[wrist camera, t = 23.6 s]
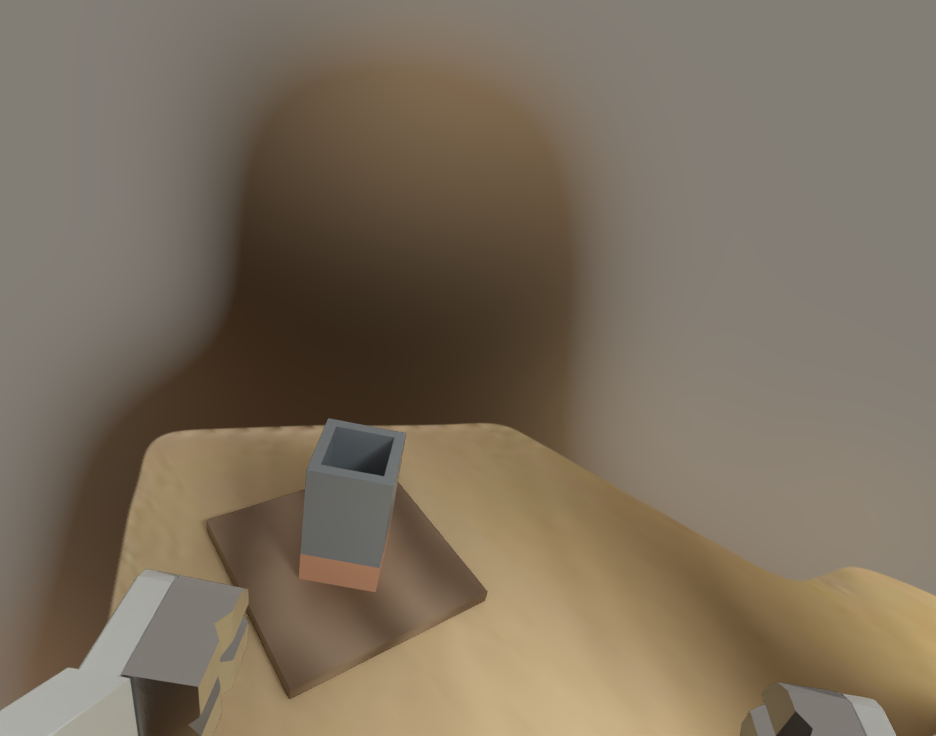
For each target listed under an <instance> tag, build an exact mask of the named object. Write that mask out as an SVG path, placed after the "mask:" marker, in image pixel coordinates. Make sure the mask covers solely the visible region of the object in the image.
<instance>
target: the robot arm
mask: <svg viewBox="0 0 936 736" xmlns="http://www.w3.org/2000/svg"><path fill="white" fill-rule="evenodd" d="M248 604H249V597H248V589H247V588H242V587H237V586H232V585H227V584H222V583H217V582H212V581H206V580H201V579H196V578H191V577H186V576H181V575H177V574H172V573H166V572H161V571H155V570H150V569H145V570H144V571H143V572H142V573H141V574H140V575H139V576H138V577H136V579H135V580H134V582H133V583H132V585H131V586H130V588H129V590H128V591H127V593H126V594H125V596H124V597H123V599H122V601H121V602H120V604H119V605H118V607H117V608H116V610H115V612H114V613H113V615H112V616H111V618H110V620H109V621H108V623H107V624H106V626H105V628H104V629H103V631H102V632H101V634H100V635H99V637H98V638H97V640H96V642H95V643H94V645H93V646H92V648H91V650H90V651H89V653H88V654H87V656H86V658H85V659H84V661H83V662H82V664H81V665H80V667H79V668H70V667H67V668H66V669H64V670H62V671H61V672H59V673H58V674H57V675H55V676H53V677H51V678H50V679H48V680H47V681H45V682H44V683H42V684H41V685H39V686H38V687H36V688H34V689H33V690H31V691H30V692H28V693H27V694H25V695H23V696H22V697H20V698H19V699H17V700H16V701H14V702H12V703H11V704H9V705H8V706H6V707H5V708H3V709H2V710H0V736H213V734H214V732H215V729H216V727H217V724H218V722H219V719H220V717H221V695H222V694H223V693H225V692H226V691H227V690H228V689H230V688H231V687H232V686H233V684H234V682H235V679H236V676H237V674H238V671H239V669H240V666H241V662H242V659H243V655H244V652H245V648H246V643H247V636H248V621H247V620H246V619H245V618H244V617H243V616H244V613H245V611H246V608H247V606H248ZM762 696H763V699H764V702H765V704H764V705H762V706H760V707H757V708H755V709H753V710H750V711H749V713H748V715H747V716H746V718H745V719H744V721H743V722H742V726H741V733H740V736H896V734H895V732H894V730H893V728H892V726H891V724H890V722H889V720H888V718H887V716H886V714H885V712H884V710H883V708H882V707H881V706H880V705H879V704H878V703H877V702H876V701H875V700H874V699H870V698H867V697H861V696H854V695H848V694H841V693H838V692H836V691H831V690H824V689H818V688H812V687H806V686H800V685H793V684H787V683H781V682H776V683H773V684H770V685H769V686H768V687H767V688H766V690H765V691H764V692H763V694H762ZM933 736H936V734H935V735H933Z"/></svg>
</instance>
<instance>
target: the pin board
mask: <svg viewBox="0 0 936 736" xmlns="http://www.w3.org/2000/svg"><path fill="white" fill-rule="evenodd" d="M304 498H305V490H302V491H299V492H295V493H292V494H289V495H286V496H283V497H279V498H276V499H273V500H270V501H267V502H263V503H260V504H257V505H254V506H251V507H248V508H244V509H241V510H238V511H235V512H232V513H228V514H225V515H222V516H219V517H216V518H212V519H209V520H207V531H208V533H209V535H210V537H211V539H212V541H213V543H214V545H215V547H216V549H217V551H218V553H219V555H220V557H221V560H222V562H223V564H224V566H225V568H226V570H227V572H228V574H229V576H230V578H231V580H232V582H233V584H234V586H237V587H242V588H247V589H248V597H249V604H248V606H247V608H246V611H247V613H248V615H249V617H250V619H251V621H252V623H253V625H254V627H255V629H256V631H257V633H258V635H259V638H260V640H261V642H262V644H263V646H264V648H265V650H266V652H267V654H268V656H269V658H270V660H271V662H272V664H273V666H274V668H275V670H276V672H277V675H278V677H279V679H280V681H281V683H282V685H283V687H284V689H285V691H286V693H287V695H288V697H289V699H291V698H293V697H295V696H297V695H299V694H301V693H303V692H305V691H306V690H308V689H310V688H312V687H314V686H316V685H318V684H320V683H322V682H324V681H326V680H328V679H330V678H332V677H334V676H336V675H338V674H340V673H342V672H344V671H346V670H348V669H350V668H352V667H354V666H356V665H358V664H360V663H362V662H364V661H366V660H368V659H370V658H372V657H374V656H376V655H378V654H380V653H382V652H384V651H386V650H388V649H390V648H392V647H394V646H396V645H398V644H400V643H402V642H404V641H406V640H408V639H410V638H412V637H414V636H416V635H418V634H420V633H422V632H424V631H426V630H428V629H430V628H432V627H434V626H435V625H437V624H439V623H441V622H443V621H445V620H447V619H449V618H451V617H453V616H455V615H457V614H459V613H461V612H463V611H465V610H467V609H469V608H471V607H473V606H475V605H477V604H479V603H481V602H483V601H485V598H486V595H487V590H486V589H485V588H484V587H483V586H482V584H481V583H480V582H479V581H478V579H477V578H476V577H475V576H474V574H473V573H472V572H471V571H470V570H469V568H468V567H467V566H466V565H465V563H464V562H463V561H462V560H461V559H460V557H459V556H458V555H457V554H456V552H455V551H454V550H453V549H452V547H451V546H450V545H449V544H448V543H447V541H446V540H445V539H444V538H443V536H442V535H441V534H440V533H439V531H438V530H437V529H436V528H435V527H434V525H433V524H432V523H431V522H430V520H429V519H428V518H427V517H426V516H425V514H424V513H423V512H422V511H421V509H420V508H419V507H418V506H417V504H416V503H415V502H414V501H413V500H412V498H411V497H410V496H409V495H408V493H407V492H406V491H405V490H404V489H403V487H402V486H401V485H400V484H399V482H398V484H397V490H396V496H395V502H394V508H393V514H392V519H391V525H390V531H389V537H388V541H387V545H386V550H385V554H384V558H383V563H382V567H381V571H380V576H379V580H378V584H377V589H376V592H371V591H365V590H359V589H354V588H348V587H343V586H337V585H331V584H326V583H320V582H315V581H309V580H304V579H299V567H300V553H301V539H302V525H303V512H304Z"/></svg>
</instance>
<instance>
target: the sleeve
mask: <svg viewBox="0 0 936 736" xmlns="http://www.w3.org/2000/svg"><path fill="white" fill-rule="evenodd" d="M405 437H406V433H403V432H398V431H393V430H387V429H382V428H377V427H371V426H366V425H361V424H355V423H350V422H345V421H340V420H334V419H328V420H327V423H326V425H325V427H324V430H323V432H322V435H321V437H320V439H319V442H318V444H317V446H316V449H315V451H314V453H313V456H312V458H311V460H310V463H309V465H308V467H307V470H306V484H305V498H304V512H303V525H302V539H301V553H300V567H299V579H304V580H309V581H315V582H320V583H326V584H331V585H337V586H343V587H348V588H354V589H359V590H365V591H371V592H376V589H377V584H378V580H379V576H380V571H381V567H382V563H383V558H384V554H385V550H386V545H387V541H388V537H389V531H390V525H391V519H392V514H393V508H394V502H395V496H396V490H397V484H398V478H399V473H400V467H401V461H402V455H403V449H404V443H405Z"/></svg>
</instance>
